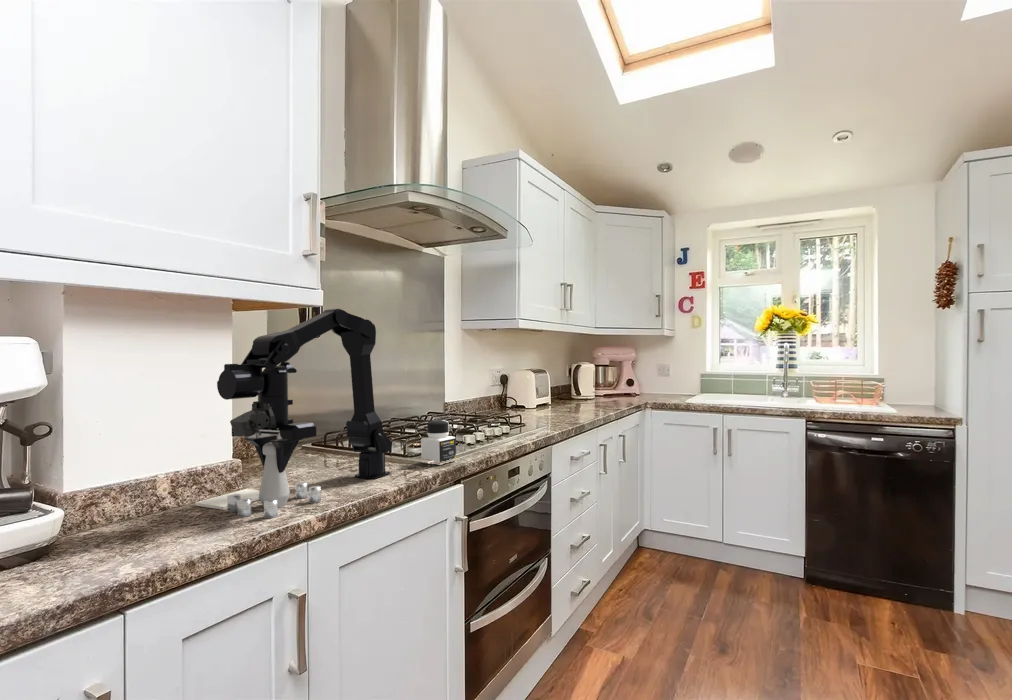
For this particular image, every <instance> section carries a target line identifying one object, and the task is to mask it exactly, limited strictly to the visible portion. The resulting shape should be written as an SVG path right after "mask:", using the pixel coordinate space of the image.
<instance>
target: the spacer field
mask: <svg viewBox="0 0 1012 700" xmlns="http://www.w3.org/2000/svg"><path fill="white" fill-rule="evenodd" d="M305 498H308V503H310V504H317V503H321V502H322V486H321V485H312V486H309V487H308V482H307V481H301V482H296V483H295V499H297V500H299V499H300V500H301V499H305ZM278 509H279V508H278V500H277V499H269V500H265V501H264V507H263V518H264V519H273V518H277V517H278V515H279V513H278V512H279V510H278ZM226 510H227V512H228V513H236V512H237V518H247V517H250V516H252V502H251V498H244V499H241V494H232V495H229V496H227V509H226Z"/></svg>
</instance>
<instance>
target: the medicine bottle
mask: <svg viewBox="0 0 1012 700" xmlns="http://www.w3.org/2000/svg"><path fill="white" fill-rule="evenodd" d="M449 427H450V424H449V422H448V421H447V420H445V419H443V420H442V419H436V420H430V421H427V436H428V437H424V438H420V452H421V454H420V455H421V457H420V458H424V459H430V460H434V461H438V462H442V461H446V460H449V459H453V458H456V459H457V450H456V444H457V442H456V437H455V436H452V435H451V436H450V435H449V434H450V433H449V432H450V428H449Z"/></svg>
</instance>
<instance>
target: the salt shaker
mask: <svg viewBox="0 0 1012 700" xmlns="http://www.w3.org/2000/svg"><path fill="white" fill-rule="evenodd" d="M262 450H263V454H264V455H266V459H265V464H264V467H263V471H262V476H261V482H260V488H259V491H260V492H259V501H260V503H261V505H262V507H263V508H264V501H265V500H269V499H277V500H278V509H279V508H281V507H284V506H286V504H287V502H288V501H289V497H290V493H291V492H290V491H291V490H290V486H289V482H288V478H287V473H286V469H285V470H284V472H281V473H279V471H278V468H277V457H276V447H275V446H274V445H273V444H272V443H271V442H270V443H266V444H265V445H264V446H263V449H262Z"/></svg>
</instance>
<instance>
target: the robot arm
mask: <svg viewBox="0 0 1012 700" xmlns="http://www.w3.org/2000/svg"><path fill="white" fill-rule="evenodd" d="M330 331H331V332H332V333H333V334H335V335H336V336H339V337H340V339H341V344H342V346H343V348H344V350H345V351H346V353H347V354H348V356H349V363H350V376H351V386H352V387H351V388H352V399H353V415H352V417H351V419H350V420H347V421H345V422H346V423H345V425H346V431H347V432H346V438H348V441H349V443H350V445H351V447H352V451H353V452H354V453H359V455H358V473H356V474H354V477H355V478H361V479H371V480H372V479H374V480H375V479H378V478H381V477H383V476H384V477H385V476H387V475H390V474H391V472H390V471H387V470H386V453H388V452H391V451H392V446H393V442H392V440H390V438H389V437H388V436H387V435H386V434H385V431H384V426H383V423H382V420H381V418H380V417H379V416H378V414H377V412H376V410H375V401H374V400H375V399H374V386H373V373H372V361H371V354H372V352H373V350H374V348H375V346H376V343H377V342H376V339H377V338H376V337H377V336H376V335H377V329H376V325H375V324H374V323H373V322H372V321H371V320H370V319H366V318H365V319H364V318H363V317H361V316H358V315H355V314H352V313H349V312H347V311H345V310H344V309H341V308H329V309H325V310H324V311H323V312H321V313H319V314H317V315H315V316H313V317H311V318H309V319H307V320H305V321H303V322H301V323H299V324H297V325H295V326H292V327H291V328H289V329H286V330H282V331H281V330H280V331H278V332H277V331H276V332H272V333H267V334H264V335H259V336H257V337H256V338H254V340H253V341H252V346H251V348H250V350H249V352H248V353H247V354H246V356H245V357H244V359H243V361H242V362H241V363H240V364H239V363H225V364H224V365H223V371H222V372H221V373H220V374H219V376H218V380H217V381H216V388H217V389H216V390H217V392H218V394H219V396H220V397H221V398H222V399H224V400H238V399H248V398H249V399H250V398H256V397H257V401H256V400H255V401H253V402H252V404H251V410H248V411H246V412H243V413H242V414H241V415H238V416H236V417H235V418H233V419H231V420H229V423H230V425H231V437H238V438H239V437H240V438H241V437H245V438H244V440H245V442H248V443H250V444H251V445H252V446H253V447H254V448H255V450H256V452H257V454H258V456H259V459H260V462H261V464H262V466H263V468H264V464H265V459H266V455H264V454H263V450H262V449H263V446H264V445H265V444H266V443H270V442H271V443H272V444H273V445H274V446H275V447H276V457H277V468H278V471H279V473H281V472H284V470H285V471H286V468H287V465H288V463H289V461H290V459H291V456H292V455H293V453H294V451H295V449H296V447H297V446H298V444H299V442H300V441H302V440H304V439H307V438H308V439H309V438H313V437H317V434H318V433H317V431H318V430H317V426H316V425H315V423H314V422H308V421H307V422H303V421H300V422H294V419H293V418H289V406H291V405H293V403H294V402H293V401H294V400H293V399H289V383H288V381H289V380H288V378H289V374H295V373H297V372H298V370H297V369H296V368H295V367H294V366H292V365H291V363H290V362H289V360H290V359H292V358H293V357H294V356H296V355H297V354H298V353H299V351H300V349H301V348H302V347H303V346H304V345H306V344H307V343H309V342H311V341H313V340H315V339H317V338H318V337H321V336H322V335H324V334H326V333H327V332H330Z"/></svg>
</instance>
